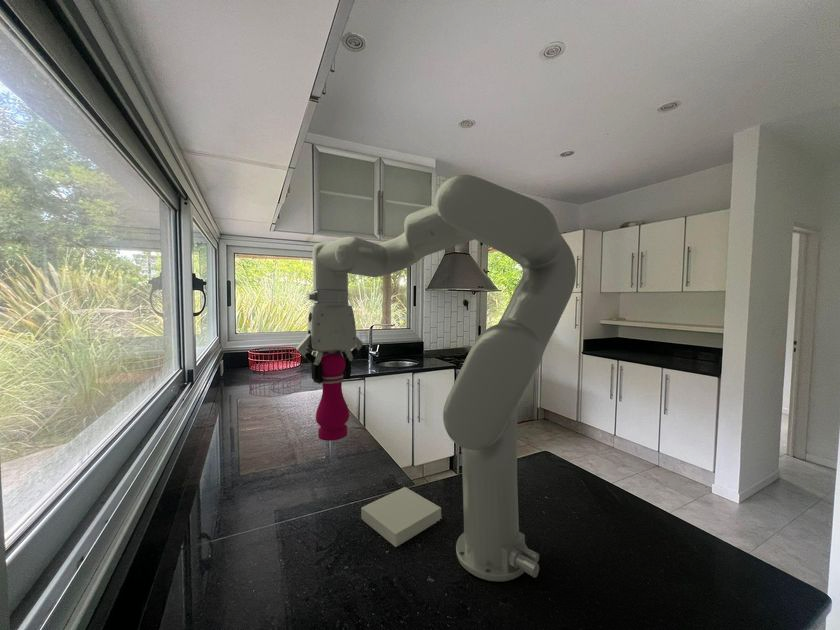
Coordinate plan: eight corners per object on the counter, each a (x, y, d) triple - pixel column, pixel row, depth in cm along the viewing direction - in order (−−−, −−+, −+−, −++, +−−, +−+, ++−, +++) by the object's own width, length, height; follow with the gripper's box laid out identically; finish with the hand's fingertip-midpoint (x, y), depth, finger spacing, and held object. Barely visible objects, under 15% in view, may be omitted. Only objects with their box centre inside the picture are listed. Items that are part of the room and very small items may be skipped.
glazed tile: (405, 498, 78) (441, 521, 69) (361, 520, 70) (396, 549, 61) (404, 486, 78) (441, 507, 69) (361, 507, 70) (395, 534, 61)
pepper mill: (308, 438, 72) (307, 347, 72) (332, 427, 79) (331, 344, 79) (333, 444, 69) (331, 348, 69) (356, 432, 75) (354, 345, 75)
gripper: (298, 298, 65) (300, 389, 65) (373, 299, 76) (374, 377, 76) (285, 299, 71) (286, 383, 71) (356, 300, 82) (357, 373, 82)
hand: (332, 379), depth 74 cm, fingers closed on pepper mill, 6 cm apart
